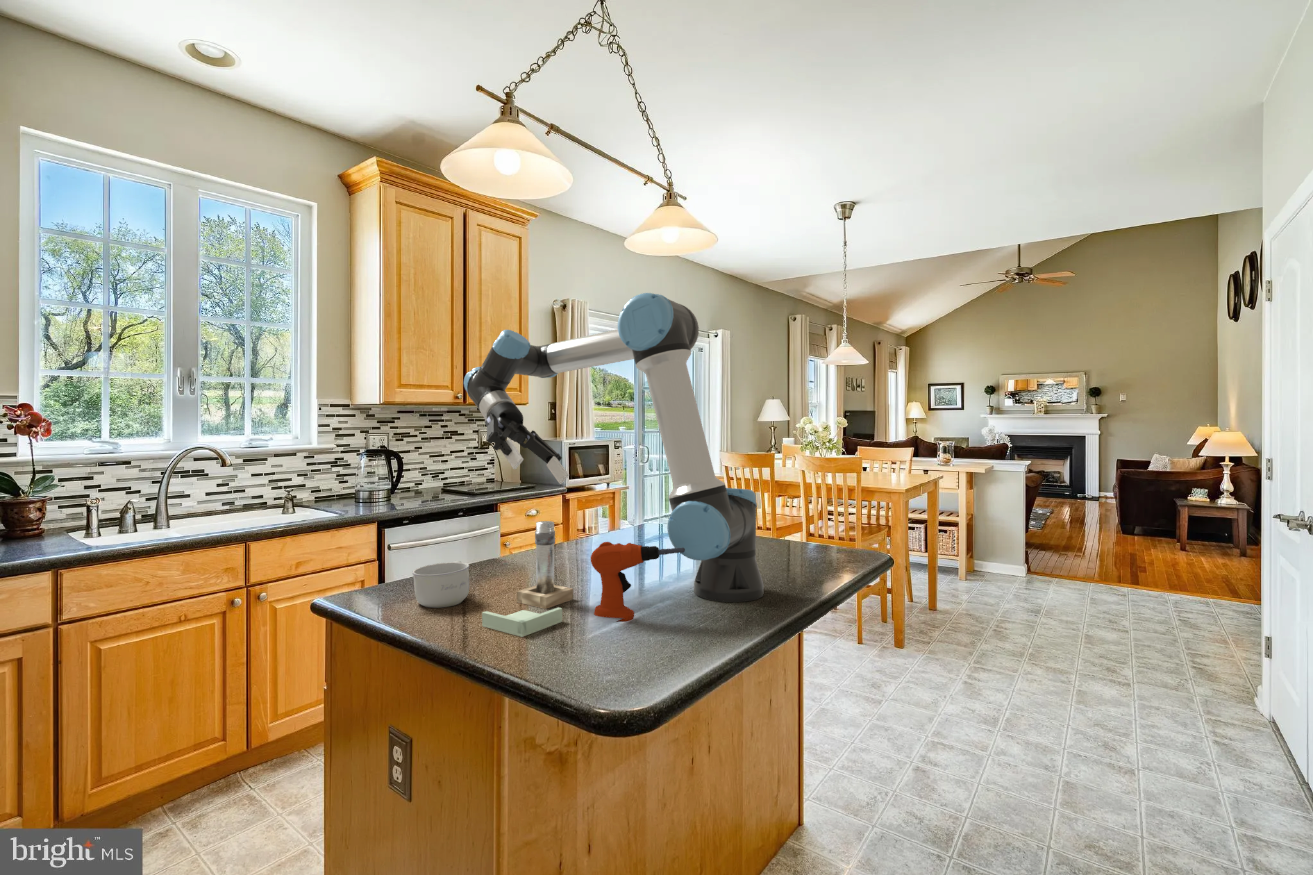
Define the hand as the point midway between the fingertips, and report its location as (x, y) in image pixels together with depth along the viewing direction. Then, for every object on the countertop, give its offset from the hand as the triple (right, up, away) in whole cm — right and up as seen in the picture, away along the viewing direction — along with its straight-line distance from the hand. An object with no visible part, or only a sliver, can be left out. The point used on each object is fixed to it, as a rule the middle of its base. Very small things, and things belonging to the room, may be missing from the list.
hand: (542, 472), depth 129 cm
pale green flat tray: (0, -27, -17) cm, 32 cm away
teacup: (-19, -27, -2) cm, 33 cm away
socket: (+1, -27, -2) cm, 27 cm away
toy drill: (+20, -27, -12) cm, 36 cm away
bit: (+1, -26, -2) cm, 26 cm away
